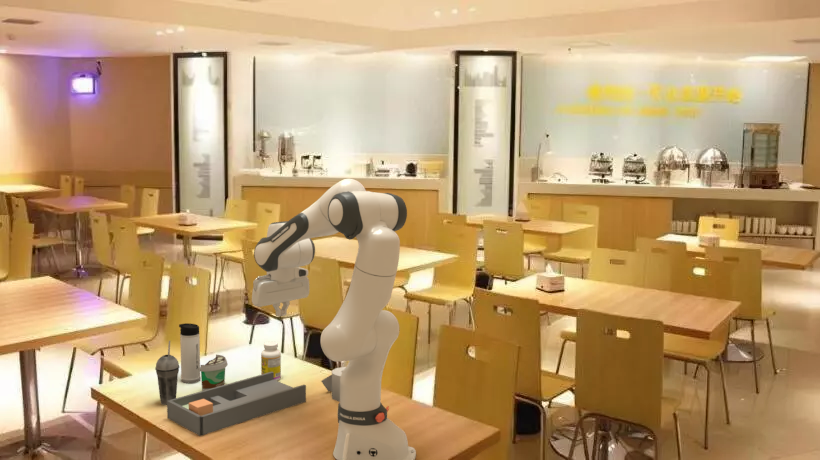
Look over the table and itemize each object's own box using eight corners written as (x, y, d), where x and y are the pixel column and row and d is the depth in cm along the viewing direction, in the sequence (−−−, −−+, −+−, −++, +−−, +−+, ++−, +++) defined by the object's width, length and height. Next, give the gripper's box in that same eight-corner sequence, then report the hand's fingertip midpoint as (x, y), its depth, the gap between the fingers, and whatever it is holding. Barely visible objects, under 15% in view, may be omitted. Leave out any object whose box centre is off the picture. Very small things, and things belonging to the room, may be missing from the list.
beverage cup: (151, 404, 241) (149, 342, 238) (168, 396, 247) (166, 337, 244) (168, 408, 238) (166, 346, 235) (185, 401, 244) (183, 340, 241)
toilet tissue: (324, 390, 257) (324, 365, 256) (362, 393, 255) (363, 368, 254) (316, 399, 248) (316, 374, 247) (356, 402, 246) (357, 377, 245)
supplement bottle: (260, 376, 268) (260, 341, 266) (279, 375, 270) (279, 340, 268) (262, 383, 262) (262, 346, 260) (281, 381, 264) (281, 345, 262)
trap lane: (271, 387, 258) (271, 371, 257) (305, 401, 246) (305, 385, 245) (167, 418, 230) (167, 400, 229) (200, 436, 218) (199, 417, 217)
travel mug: (179, 378, 264) (177, 322, 261) (198, 376, 267) (197, 320, 264) (181, 384, 259) (180, 327, 256) (201, 382, 261) (200, 325, 258)
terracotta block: (203, 411, 228) (203, 398, 228) (213, 416, 225) (212, 403, 224) (188, 415, 225) (188, 402, 224) (198, 420, 221) (197, 407, 221)
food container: (217, 396, 249) (217, 366, 247) (200, 394, 250) (199, 365, 248) (234, 383, 261) (233, 355, 259) (217, 382, 262) (216, 353, 260)
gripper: (259, 278, 229) (260, 323, 231) (312, 269, 244) (312, 312, 246) (247, 275, 233) (247, 319, 235) (299, 266, 248) (299, 308, 250)
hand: (281, 315), depth 241 cm, fingers closed
